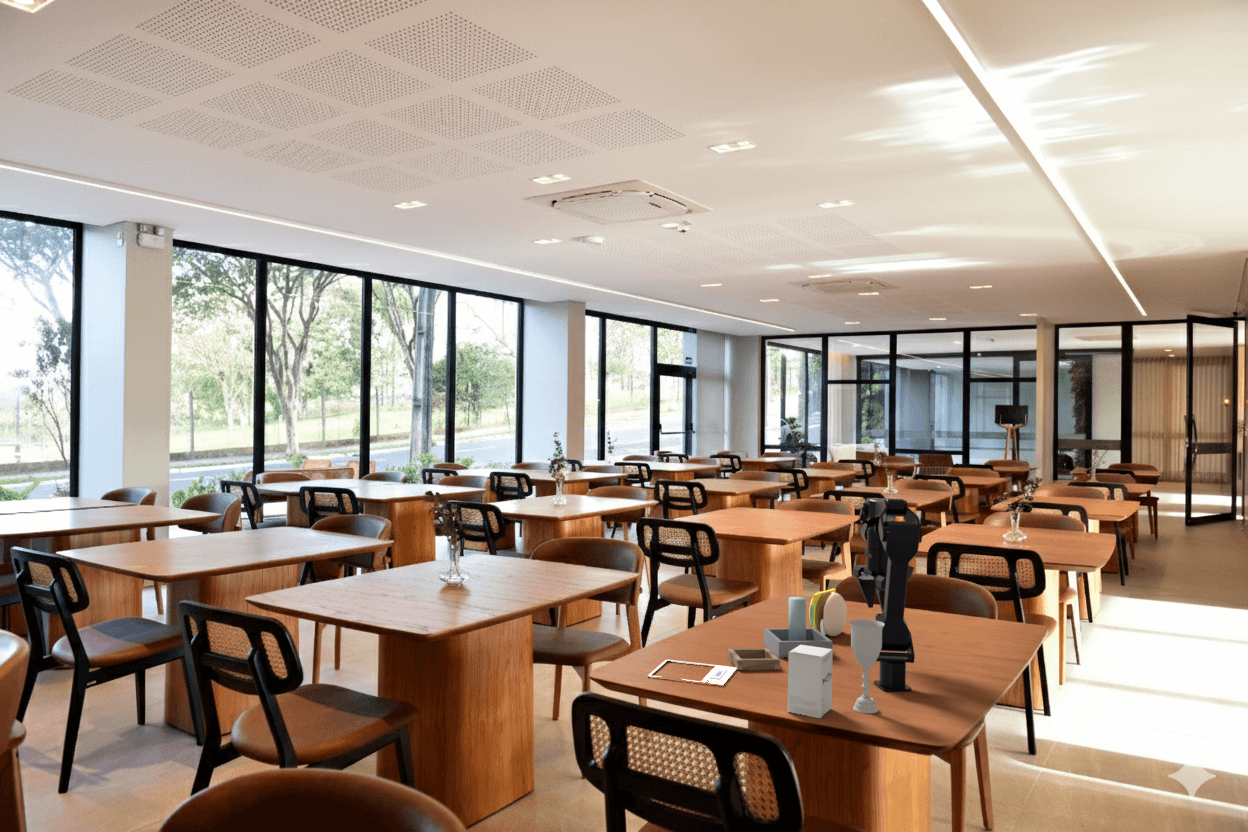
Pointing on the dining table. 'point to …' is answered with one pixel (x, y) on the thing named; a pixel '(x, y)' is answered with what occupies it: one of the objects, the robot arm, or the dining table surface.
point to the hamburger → (828, 612)
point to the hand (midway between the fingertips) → (878, 611)
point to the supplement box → (810, 681)
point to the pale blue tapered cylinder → (797, 619)
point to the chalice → (866, 656)
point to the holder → (753, 659)
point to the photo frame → (714, 676)
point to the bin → (782, 646)
